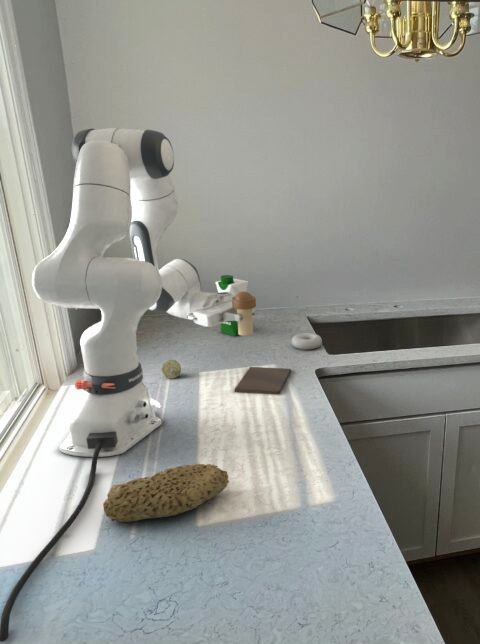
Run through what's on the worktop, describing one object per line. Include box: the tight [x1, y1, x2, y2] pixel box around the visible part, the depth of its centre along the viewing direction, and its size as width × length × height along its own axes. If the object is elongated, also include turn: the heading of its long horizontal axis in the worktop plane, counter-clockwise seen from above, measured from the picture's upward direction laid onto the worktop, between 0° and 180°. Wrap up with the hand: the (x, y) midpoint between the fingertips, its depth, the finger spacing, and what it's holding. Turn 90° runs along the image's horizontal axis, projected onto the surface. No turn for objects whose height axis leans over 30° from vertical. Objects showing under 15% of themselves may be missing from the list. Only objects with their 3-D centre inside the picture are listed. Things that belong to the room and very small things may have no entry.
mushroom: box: [232, 291, 257, 337], centre depth 157 cm, size 6×6×12 cm
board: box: [234, 366, 292, 395], centre depth 156 cm, size 16×12×1 cm
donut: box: [291, 332, 323, 351], centre depth 183 cm, size 10×4×10 cm
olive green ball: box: [161, 359, 182, 379], centre depth 156 cm, size 4×5×5 cm
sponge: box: [102, 463, 230, 523], centre depth 101 cm, size 13×8×20 cm
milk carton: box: [215, 274, 249, 337], centre depth 191 cm, size 9×9×20 cm
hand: (247, 315), depth 157 cm, fingers closed on mushroom, 4 cm apart
